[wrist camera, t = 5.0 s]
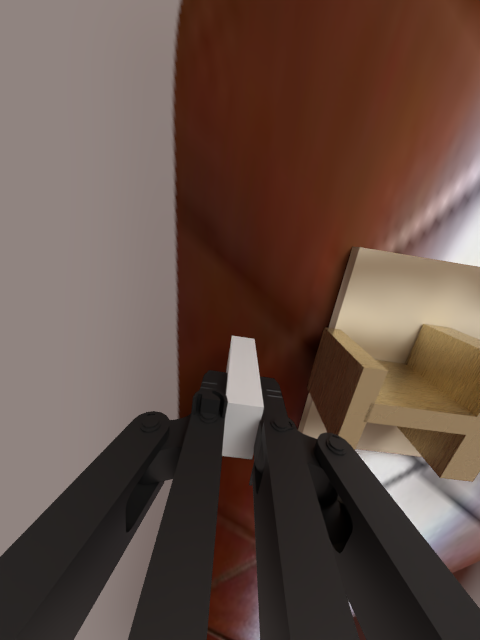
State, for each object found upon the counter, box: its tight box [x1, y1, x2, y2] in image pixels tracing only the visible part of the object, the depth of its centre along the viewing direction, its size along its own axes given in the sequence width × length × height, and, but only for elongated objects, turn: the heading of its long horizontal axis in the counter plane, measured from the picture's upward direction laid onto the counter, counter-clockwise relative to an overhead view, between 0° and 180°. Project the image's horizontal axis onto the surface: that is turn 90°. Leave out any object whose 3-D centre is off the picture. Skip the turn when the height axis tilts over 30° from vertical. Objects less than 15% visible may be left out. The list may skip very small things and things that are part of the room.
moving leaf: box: [307, 324, 480, 482], centre depth 14 cm, size 8×9×5 cm
